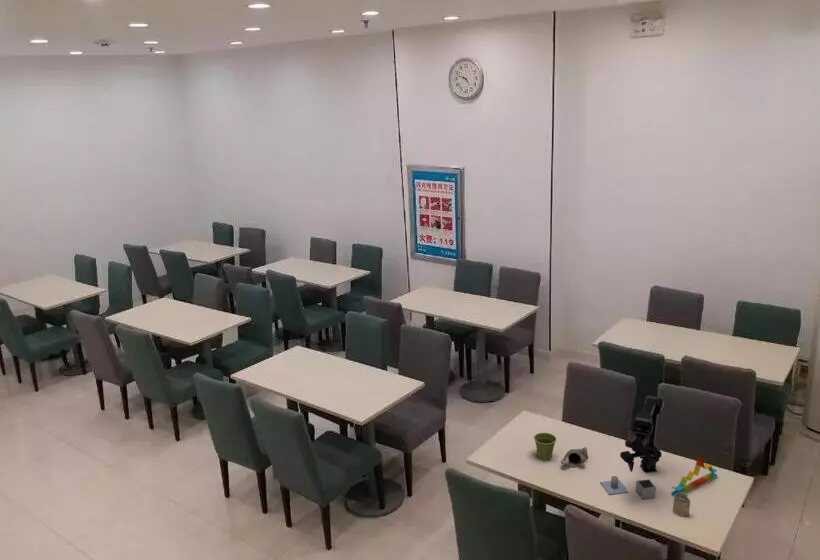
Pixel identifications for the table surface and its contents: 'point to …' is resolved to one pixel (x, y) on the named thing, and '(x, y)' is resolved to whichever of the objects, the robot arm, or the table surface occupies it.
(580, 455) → the animal shaped planter
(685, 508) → the old metal can
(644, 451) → the robot arm
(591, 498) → the table surface
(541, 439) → the plant pot
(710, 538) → the table surface
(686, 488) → the multicoloured triangular frame
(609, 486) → the grey peg stand
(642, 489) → the collar
